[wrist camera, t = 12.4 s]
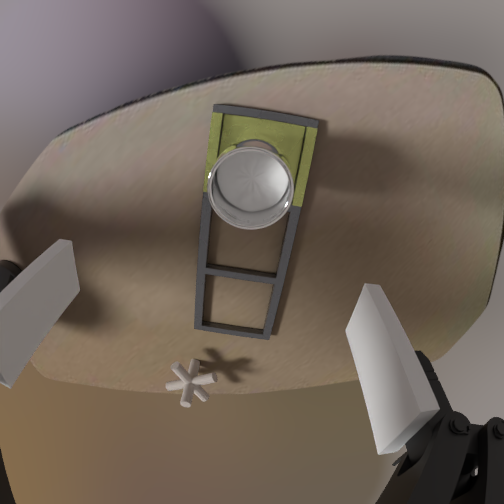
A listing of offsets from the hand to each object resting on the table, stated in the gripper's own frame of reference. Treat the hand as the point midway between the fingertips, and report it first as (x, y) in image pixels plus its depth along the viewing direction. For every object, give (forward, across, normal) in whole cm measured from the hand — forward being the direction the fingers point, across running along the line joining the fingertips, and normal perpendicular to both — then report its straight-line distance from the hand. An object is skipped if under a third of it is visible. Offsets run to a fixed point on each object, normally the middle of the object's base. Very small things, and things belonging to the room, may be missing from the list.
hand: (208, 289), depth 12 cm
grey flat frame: (+27, +2, -10) cm, 28 cm away
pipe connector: (+27, -5, -37) cm, 46 cm away
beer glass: (+27, +1, +1) cm, 27 cm away
